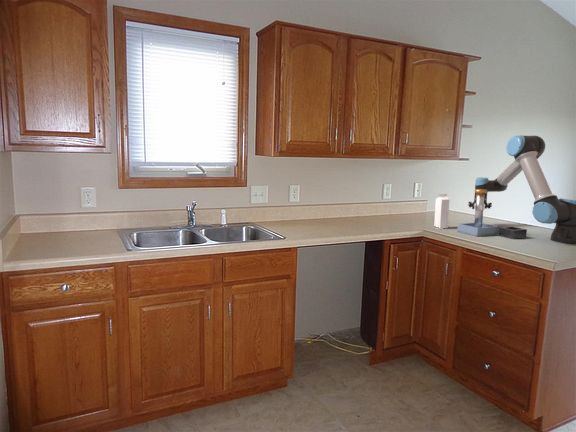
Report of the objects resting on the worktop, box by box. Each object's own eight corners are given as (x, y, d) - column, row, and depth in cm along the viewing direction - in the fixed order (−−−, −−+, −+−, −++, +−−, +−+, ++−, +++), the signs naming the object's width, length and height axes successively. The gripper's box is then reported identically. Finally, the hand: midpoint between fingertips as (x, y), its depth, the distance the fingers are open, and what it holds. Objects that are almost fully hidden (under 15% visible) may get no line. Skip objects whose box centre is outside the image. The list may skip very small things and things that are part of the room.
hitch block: (526, 237, 241) (526, 229, 240) (512, 239, 238) (513, 230, 237) (511, 234, 251) (512, 226, 250) (498, 235, 247) (499, 227, 246)
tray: (498, 234, 250) (499, 226, 249) (477, 236, 244) (477, 228, 244) (477, 230, 265) (478, 222, 264) (457, 231, 259) (458, 223, 258)
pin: (486, 229, 252) (489, 189, 249) (477, 230, 250) (480, 190, 246) (478, 228, 258) (480, 189, 255) (469, 228, 256) (472, 189, 252)
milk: (447, 228, 270) (450, 194, 267) (439, 229, 268) (442, 194, 265) (441, 226, 276) (443, 193, 272) (433, 227, 274) (435, 193, 270)
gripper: (494, 209, 265) (495, 214, 244) (464, 208, 272) (463, 212, 251) (495, 197, 264) (496, 201, 243) (465, 196, 271) (463, 200, 250)
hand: (479, 207), depth 247 cm, fingers closed on pin, 4 cm apart
